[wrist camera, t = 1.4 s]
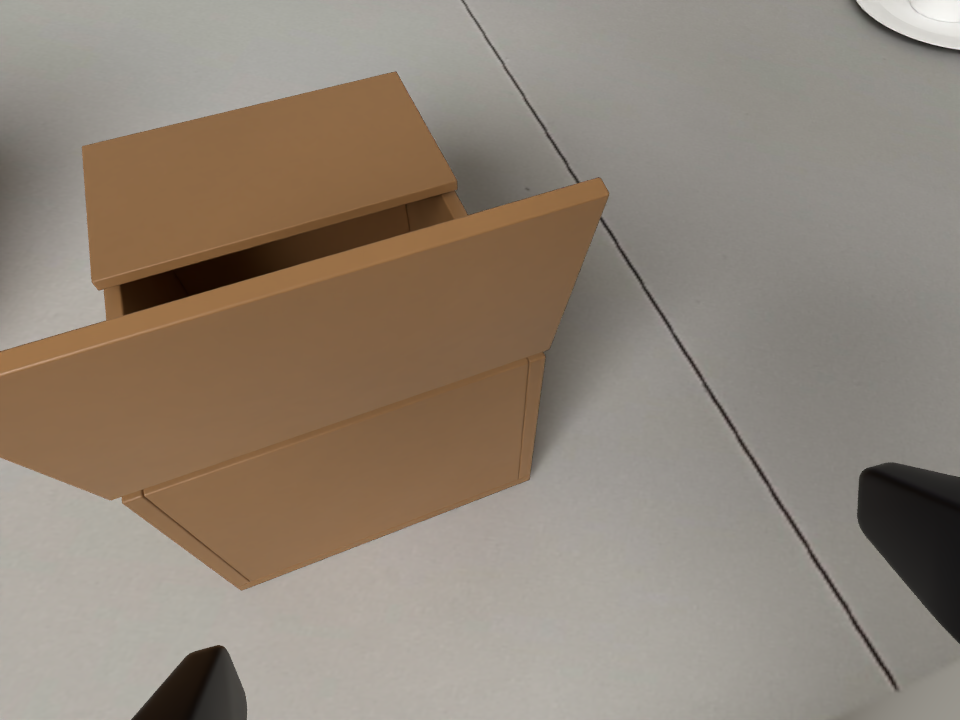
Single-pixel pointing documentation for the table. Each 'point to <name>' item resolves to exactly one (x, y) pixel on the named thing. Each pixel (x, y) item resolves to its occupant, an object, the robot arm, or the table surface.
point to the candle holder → (919, 19)
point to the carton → (282, 244)
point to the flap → (294, 347)
